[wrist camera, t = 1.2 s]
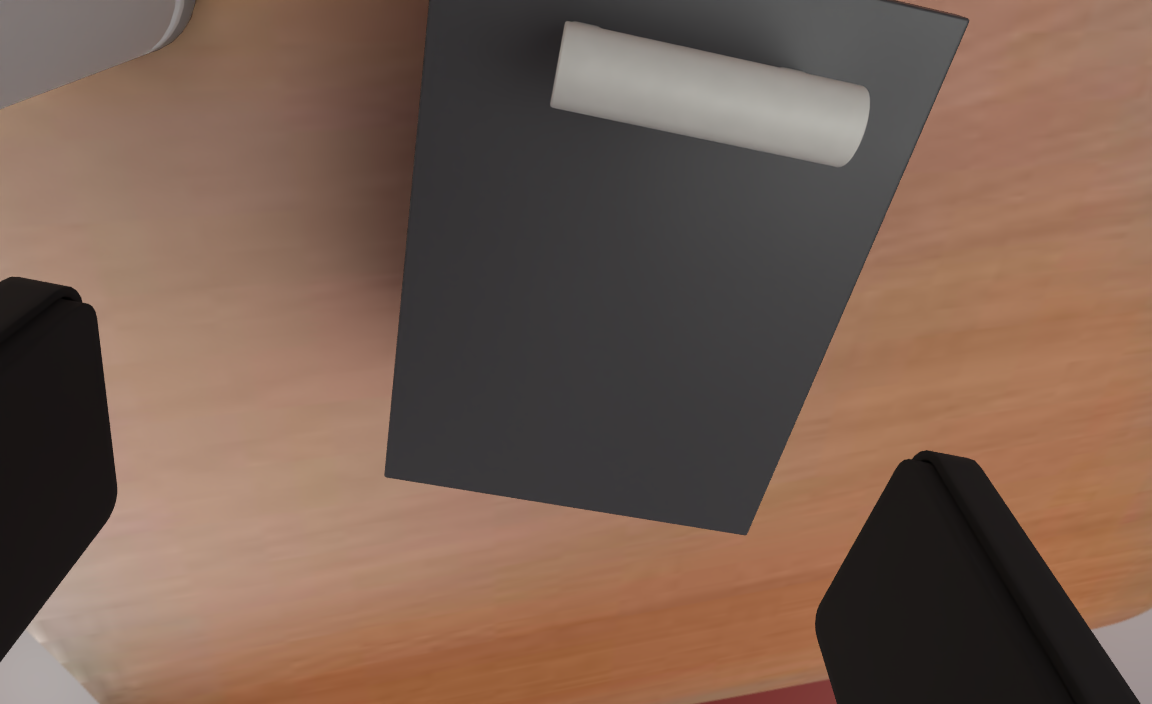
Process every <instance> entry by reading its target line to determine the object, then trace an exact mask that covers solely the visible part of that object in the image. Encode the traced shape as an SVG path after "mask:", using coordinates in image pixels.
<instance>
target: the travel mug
mask: <svg viewBox="0 0 1152 704" xmlns="http://www.w3.org/2000/svg"><path fill="white" fill-rule="evenodd" d="M194 5H195V0H0V109H2V108H5V107H7V106H10V105H13V104H15V103H18V102H21V101H23V100H26V99H29V98H31V97H34V96H37V95H39V94H42V93H45V92H47V91H50V90H53V89H55V88H58V87H60V86H63V85H66V84H68V83H71V82H74V81H76V80H79V79H82V78H84V77H87V76H90V75H92V74H95V73H98V72H100V71H103V70H106V69H108V68H111V67H114V66H116V65H119V64H122V63H124V62H127V61H130V60H132V59H135V58H137V57H139V56H142V55H146V54H148V53H151V52H154V51H156V50H159V49H161V48H162V47H164V46H166V45H168V44H169V43H171V42H173V41H174V40H175V39H176V38H177V37H178V36H179V35H180V34H181V33H182V32H183V30H184V28H185V27H186V25H187V23H188V22H189V20H190V18H191V15H192V12H193V9H194Z"/></svg>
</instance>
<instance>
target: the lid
mask: <svg viewBox="0 0 1152 704" xmlns="http://www.w3.org/2000/svg"><path fill="white" fill-rule="evenodd" d="M968 23H969V19H968V18H965V17H962V16H959V15H956V14H952V13H948V12H944V11H939V10H935V9H931V8H926V7H922V6H918V5H913V4H909V3H905V2H900V1H896V0H429V8H428V18H427V29H426V39H425V50H424V61H423V71H422V82H421V92H420V103H419V114H418V124H417V135H416V145H415V156H414V167H413V177H412V188H411V199H410V209H409V220H408V230H407V241H406V252H405V262H404V273H403V283H402V294H401V305H400V315H399V326H398V336H397V347H396V358H395V368H394V379H393V390H392V400H391V411H390V421H389V432H388V443H387V453H386V464H385V474H384V475H385V477H387V478H394V479H400V480H406V481H412V482H418V483H425V484H431V485H437V486H443V487H449V488H455V489H462V490H468V491H474V492H480V493H486V494H493V495H499V496H505V497H511V498H517V499H524V500H530V501H536V502H542V503H548V504H554V505H561V506H567V507H573V508H579V509H585V510H592V511H598V512H604V513H610V514H616V515H623V516H629V517H635V518H641V519H647V520H653V521H660V522H666V523H672V524H678V525H684V526H691V527H697V528H703V529H709V530H715V531H722V532H728V533H734V534H740V535H747V533H748V531H749V528H750V526H751V524H752V521H753V519H754V517H755V515H756V512H757V510H758V508H759V505H760V503H761V501H762V498H763V496H764V494H765V491H766V489H767V487H768V485H769V482H770V480H771V478H772V475H773V473H774V471H775V468H776V466H777V464H778V461H779V459H780V457H781V455H782V452H783V450H784V448H785V445H786V443H787V441H788V438H789V436H790V434H791V431H792V429H793V427H794V425H795V422H796V420H797V418H798V415H799V413H800V411H801V408H802V406H803V404H804V401H805V399H806V397H807V395H808V392H809V390H810V388H811V385H812V383H813V381H814V378H815V376H816V374H817V371H818V369H819V367H820V365H821V362H822V360H823V358H824V355H825V353H826V351H827V348H828V346H829V344H830V342H831V339H832V337H833V335H834V332H835V330H836V328H837V325H838V323H839V321H840V318H841V316H842V314H843V312H844V309H845V307H846V305H847V302H848V300H849V298H850V295H851V293H852V291H853V288H854V286H855V284H856V282H857V279H858V277H859V275H860V272H861V270H862V268H863V265H864V263H865V261H866V258H867V256H868V254H869V252H870V249H871V247H872V245H873V242H874V240H875V238H876V235H877V233H878V231H879V228H880V226H881V224H882V222H883V219H884V217H885V215H886V212H887V210H888V208H889V205H890V203H891V201H892V198H893V196H894V194H895V192H896V189H897V187H898V185H899V182H900V180H901V178H902V175H903V173H904V171H905V168H906V166H907V164H908V162H909V159H910V157H911V155H912V152H913V150H914V148H915V145H916V143H917V141H918V138H919V136H920V134H921V132H922V129H923V127H924V125H925V122H926V120H927V118H928V115H929V113H930V111H931V109H932V106H933V104H934V102H935V99H936V97H937V95H938V92H939V90H940V88H941V85H942V83H943V81H944V79H945V76H946V74H947V72H948V69H949V67H950V65H951V62H952V60H953V58H954V55H955V53H956V51H957V49H958V46H959V44H960V42H961V39H962V37H963V35H964V32H965V30H966V28H967V25H968Z"/></svg>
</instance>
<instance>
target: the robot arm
mask: <svg viewBox="0 0 1152 704" xmlns="http://www.w3.org/2000/svg"><path fill="white" fill-rule="evenodd" d="M116 498H117V481H116V473H115V464H114V456H113V448H112V439H111V431H110V423H109V414H108V406H107V397H106V389H105V381H104V372H103V364H102V356H101V347H100V339H99V331H98V322H97V316H96V312H95V310H94V308H93V307H92V306H91V305H89V304H86V303H82V299H81V297H80V295H79V293H78V292H77V291H76V290H75V289H73V288H72V287H68V286H63V285H58V284H53V283H47V282H42V281H37V280H32V279H26V278H21V277H9V278H7V279H5V280H3V281H1V282H0V662H1V661H2V659H3V658H4V657H5V655H6V654H7V652H8V651H9V650H10V649H11V647H12V646H13V645H14V643H15V642H16V640H17V639H18V638H19V637H20V635H21V634H22V633H23V631H24V630H25V629H26V628H27V626H28V625H29V624H30V622H31V621H32V620H33V618H34V617H35V616H36V614H37V613H38V612H39V610H40V609H41V608H42V606H43V605H44V604H45V602H46V601H47V600H48V599H49V597H50V596H51V595H52V593H53V592H54V591H55V589H56V588H57V587H58V585H59V584H60V583H61V581H62V580H63V579H64V577H65V576H66V575H67V573H68V572H69V571H70V570H71V568H72V567H73V566H74V564H75V563H76V562H77V560H78V559H79V558H80V556H81V555H82V554H83V552H84V551H85V550H86V548H87V547H88V546H89V544H90V543H91V542H92V540H93V539H94V538H95V537H96V535H97V534H98V533H99V531H100V530H101V529H102V527H103V526H104V525H105V523H106V522H107V520H108V519H109V517H110V515H111V513H112V511H113V509H114V506H115V502H116ZM815 628H816V635H817V639H818V643H819V646H820V649H821V652H822V656H823V659H824V662H825V666H826V669H827V672H828V676H829V679H830V682H831V685H832V688H833V692H834V695H835V699H836V702H837V704H1140V702H1139V701H1138V699H1137V698H1136V696H1135V695H1134V693H1133V692H1132V691H1131V689H1130V687H1129V686H1128V684H1127V683H1126V682H1125V680H1124V678H1123V677H1122V676H1121V674H1120V673H1119V671H1118V670H1117V668H1116V667H1115V665H1114V664H1113V662H1112V661H1111V659H1110V658H1109V656H1108V655H1107V653H1106V652H1105V650H1104V649H1103V647H1102V646H1101V644H1100V643H1099V641H1098V640H1097V639H1096V637H1095V636H1094V634H1093V633H1092V631H1091V630H1090V628H1089V627H1088V625H1087V624H1086V622H1085V621H1084V619H1083V618H1082V616H1081V615H1080V613H1079V612H1078V610H1077V609H1076V607H1075V606H1074V604H1073V603H1072V601H1071V600H1070V599H1069V597H1068V596H1067V594H1066V593H1065V591H1064V590H1063V588H1062V587H1061V585H1060V584H1059V582H1058V581H1057V579H1056V578H1055V576H1054V575H1053V573H1052V572H1051V570H1050V569H1049V567H1048V566H1047V564H1046V563H1045V562H1044V560H1043V559H1042V557H1041V556H1040V554H1039V553H1038V551H1037V550H1036V548H1035V547H1034V545H1033V544H1032V542H1031V541H1030V539H1029V538H1028V536H1027V535H1026V533H1025V532H1024V530H1023V529H1022V527H1021V526H1020V525H1019V523H1018V522H1017V520H1016V519H1015V517H1014V516H1013V514H1012V513H1011V511H1010V510H1009V508H1008V507H1007V505H1006V504H1005V502H1004V501H1003V499H1002V498H1001V496H1000V495H999V493H998V492H997V490H996V489H995V487H994V486H993V485H992V483H991V482H990V480H989V479H988V477H987V476H986V474H985V473H984V471H983V470H982V468H981V467H980V466H979V465H978V464H977V463H976V462H975V461H974V460H972V459H969V458H964V457H959V456H954V455H949V454H943V453H938V452H933V451H928V450H926V451H921V452H919V453H918V454H916V455H915V456H914V457H913V459H912V460H911V459H907V460H904V461H902V462H901V463H900V464H899V465H898V467H897V468H896V470H895V471H894V473H893V475H892V477H891V478H890V480H889V482H888V484H887V486H886V487H885V489H884V491H883V493H882V494H881V496H880V498H879V500H878V502H877V503H876V505H875V507H874V509H873V510H872V512H871V514H870V516H869V517H868V519H867V521H866V523H865V525H864V526H863V528H862V530H861V532H860V533H859V535H858V537H857V539H856V541H855V542H854V544H853V546H852V548H851V549H850V551H849V553H848V555H847V557H846V558H845V560H844V562H843V564H842V565H841V567H840V569H839V571H838V572H837V574H836V576H835V578H834V580H833V581H832V583H831V585H830V587H829V588H828V590H827V592H826V594H825V596H824V597H823V599H822V601H821V603H820V605H819V607H818V609H817V614H816V621H815Z"/></svg>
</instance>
